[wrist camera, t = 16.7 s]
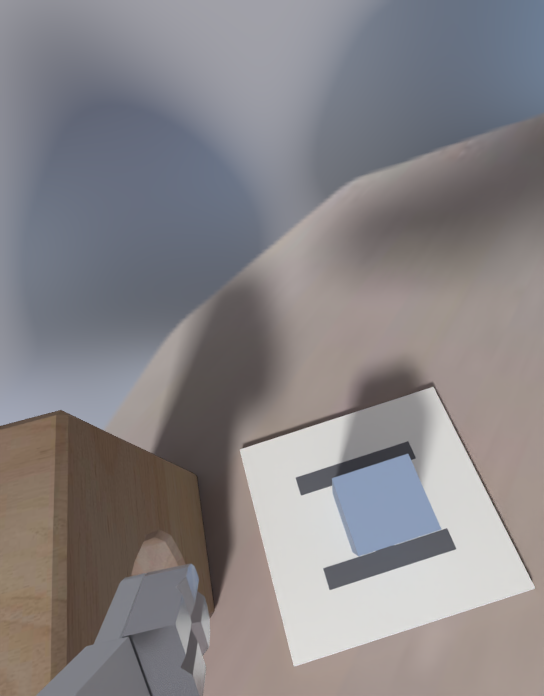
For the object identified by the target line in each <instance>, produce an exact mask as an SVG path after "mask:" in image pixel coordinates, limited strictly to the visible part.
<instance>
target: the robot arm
mask: <svg viewBox="0 0 544 696" xmlns="http://www.w3.org/2000/svg"><path fill="white" fill-rule="evenodd" d="M198 583H199V577H198V574H197V571H196V569H195V566H194V565H192V564H186V565H181V566H176V567H171V568H167V569H162V570H157V571H152V572H148V573H143V574H139V575H134V576H130V577H125V578H124V579H123V580H122V581H121V582H120V583H119V586H118V588H117V591H116V593H115V595H114V598H113V600H112V602H111V605H110V607H109V609H108V612H107V614H106V616H105V619H104V621H103V623H102V626H101V628H100V630H99V633H98V635H97V637H96V640H95V642H94V644H93V645H90V646H86V647H85V648H84V649H83V650H82V651H81V652H80V653H79V654H78V655H77V656H76V657H75V658H74V659H73V660H72V661H71V662H70V663H69V664H68V665H67V666H66V667H65V668H64V669H63V670H62V671H61V672H59V673H58V674H57V675H56V676H55V677H54V678H53V679H52V680H51V681H50V682H49V683H48V684H47V685H46V686H45V687H44V688H43V689H42V690H41V691H40V692H39V693H38V694H37V695H36V696H203V691H204V683H205V675H206V666H205V663H204V660H203V655H204V653H205V652H206V651H207V649H208V648H209V641H210V618H209V612H208V607H207V603H206V600H205V596H203V595H202V594H201V593H199V592H198V591H197V589H198Z"/></svg>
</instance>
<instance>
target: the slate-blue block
mask: <svg viewBox="0 0 544 696" xmlns="http://www.w3.org/2000/svg"><path fill="white" fill-rule="evenodd" d="M332 492H333V496H334V499H335V502H336V505H337V508H338V511H339V514H340V517H341V520H342V523H343V526H344V529H345V532H346V535H347V538H348V541H349V543H350V546H351V549H352V552H353V553H354V554H356V555H357V556H361V555H364V554H368V553H371V552H374V551H377V550H380V549H383V548H386V547H389V546H392V545H395V544H398V543H401V542H405V541H408V540H411V539H414V538H417V537H420V536H423V535H426V534H429V533H432V532H435V531H438V530H442V529H441V527H440V525H439V522H438V520H437V518H436V516H435V513H434V511H433V509H432V506H431V504H430V502H429V500H428V497H427V495H426V493H425V491H424V488H423V486H422V484H421V481H420V479H419V477H418V475H417V472H416V470H415V468H414V466H413V463H412V461H411V459H410V456H409V454H405V455H402V456H399V457H396V458H393V459H390V460H387V461H384V462H381V463H378V464H375V465H371V466H368V467H365V468H362V469H359V470H356V471H353V472H350V473H347V474H344V475H341V476H338V477H334V478H332Z"/></svg>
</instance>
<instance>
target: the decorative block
mask: <svg viewBox="0 0 544 696" xmlns="http://www.w3.org/2000/svg"><path fill="white" fill-rule="evenodd" d="M186 564H192V565H194V566H195V569H196V571H197V574H198V577H199V583H198V589H197V591H198V592H199V593H201V594H202V595H203V596H205V600H206V603H207V607H208V612H209V618H210V617H211V616H212V614H213V612H214V611H215V610H214V603H213V595H212V587H211V580H210V572H209V564H208V557H207V549H206V542H205V534H204V527H203V519H202V512H201V504H200V497H199V489H198V482H197V476H196V475H195V474H193V473H192V472H190V471H188V470H185V469H183V468H181V467H179V466H177V465H175V464H173V463H171V462H168V461H166V460H164V459H162V458H160V457H158V456H156V455H154V454H152V453H150V452H148V451H146V450H144V449H141V448H139V447H137V446H135V445H133V444H131V443H129V442H127V441H124V440H122V439H120V438H118V437H116V436H114V435H112V434H110V433H108V432H106V431H103V430H101V429H99V428H97V427H95V426H93V425H91V424H89V423H87V422H85V421H83V420H81V419H79V418H76V417H74V416H72V415H70V414H68V413H66V412H64V411H62V410H59V411H55V412H52V413H48V414H44V415H40V416H37V417H33V418H29V419H25V420H21V421H18V422H14V423H10V424H6V425H3V426H0V696H36V695H37V694H38V693H39V692H40V691H41V690H42V689H43V688H44V687H45V686H46V685H47V684H48V683H49V682H50V681H51V680H52V679H53V678H54V677H55V676H56V675H57V674H58V673H59V672H61V671H62V670H63V669H64V668H65V667H66V666H67V665H68V664H69V663H70V662H71V661H72V660H73V659H74V658H75V657H76V656H77V655H78V654H79V653H80V652H81V651H82V650H83V649H84V648H85V647H86V646H90V645H93V644H94V642H95V640H96V637H97V635H98V633H99V630H100V628H101V626H102V623H103V621H104V619H105V616H106V614H107V612H108V609H109V607H110V605H111V602H112V600H113V598H114V595H115V593H116V591H117V588H118V586H119V583H120V582H121V581H122V580H123V579H124V578H125V577H130V576H134V575H139V574H143V573H148V572H152V571H157V570H162V569H167V568H171V567H176V566H181V565H186Z"/></svg>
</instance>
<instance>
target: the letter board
mask: <svg viewBox="0 0 544 696" xmlns="http://www.w3.org/2000/svg"><path fill="white" fill-rule="evenodd" d="M240 453H241V457H242V461H243V465H244V469H245V473H246V477H247V481H248V485H249V489H250V493H251V497H252V501H253V505H254V509H255V513H256V517H257V521H258V525H259V529H260V533H261V537H262V541H263V545H264V549H265V553H266V557H267V561H268V565H269V569H270V573H271V577H272V581H273V585H274V589H275V593H276V597H277V601H278V605H279V609H280V613H281V617H282V621H283V625H284V629H285V633H286V637H287V641H288V645H289V649H290V653H291V657H292V661H293V665H294V666H298V665H301V664H304V663H307V662H310V661H313V660H316V659H319V658H322V657H325V656H328V655H332V654H335V653H338V652H341V651H344V650H347V649H350V648H353V647H356V646H359V645H362V644H365V643H369V642H372V641H375V640H378V639H381V638H384V637H387V636H390V635H393V634H396V633H399V632H403V631H406V630H409V629H412V628H415V627H418V626H421V625H424V624H427V623H430V622H433V621H436V620H440V619H443V618H446V617H449V616H452V615H455V614H458V613H461V612H464V611H467V610H470V609H474V608H477V607H480V606H483V605H486V604H489V603H492V602H495V601H498V600H501V599H504V598H507V597H511V596H514V595H517V594H520V593H523V592H526V591H529V590H532V589H535V587H534V585H533V583H532V581H531V579H530V577H529V575H528V573H527V571H526V569H525V567H524V565H523V563H522V561H521V559H520V557H519V555H518V553H517V551H516V549H515V547H514V545H513V543H512V541H511V539H510V537H509V535H508V533H507V531H506V529H505V527H504V525H503V523H502V521H501V519H500V518H499V516H498V514H497V512H496V510H495V508H494V506H493V504H492V502H491V500H490V498H489V496H488V494H487V492H486V490H485V488H484V486H483V484H482V482H481V480H480V478H479V476H478V474H477V472H476V470H475V468H474V466H473V464H472V462H471V460H470V458H469V456H468V454H467V452H466V450H465V448H464V446H463V444H462V442H461V440H460V439H459V437H458V435H457V433H456V431H455V429H454V427H453V425H452V423H451V421H450V419H449V417H448V415H447V413H446V411H445V409H444V407H443V405H442V403H441V401H440V399H439V397H438V395H437V393H436V391H435V389H434V387H431V388H428V389H425V390H422V391H419V392H416V393H413V394H409V395H406V396H403V397H400V398H397V399H394V400H391V401H388V402H385V403H382V404H379V405H376V406H372V407H369V408H366V409H363V410H360V411H357V412H354V413H351V414H348V415H345V416H342V417H339V418H335V419H332V420H329V421H326V422H323V423H320V424H317V425H314V426H311V427H308V428H305V429H302V430H298V431H295V432H292V433H289V434H286V435H283V436H280V437H277V438H274V439H271V440H268V441H264V442H261V443H258V444H255V445H252V446H249V447H246V448H243V449H240ZM405 454H409V456H410V459H411V461H412V463H413V466H414V468H415V470H416V472H417V475H418V477H419V479H420V481H421V484H422V486H423V488H424V491H425V493H426V495H427V497H428V500H429V502H430V504H431V506H432V509H433V511H434V513H435V516H436V518H437V520H438V522H439V525H440V527H441V529H442V530H438V531H435V532H432V533H429V534H426V535H423V536H420V537H417V538H414V539H411V540H408V541H405V542H401V543H398V544H395V545H392V546H389V547H386V548H383V549H380V550H377V551H374V552H371V553H368V554H364V555H361V556H357V555H356V554H354V553H353V552H352V549H351V546H350V543H349V541H348V538H347V535H346V532H345V529H344V526H343V523H342V520H341V517H340V514H339V511H338V508H337V505H336V502H335V499H334V496H333V492H332V478H334V477H338V476H341V475H344V474H347V473H350V472H353V471H356V470H359V469H362V468H365V467H368V466H371V465H375V464H378V463H381V462H384V461H387V460H390V459H393V458H396V457H399V456H402V455H405Z"/></svg>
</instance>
